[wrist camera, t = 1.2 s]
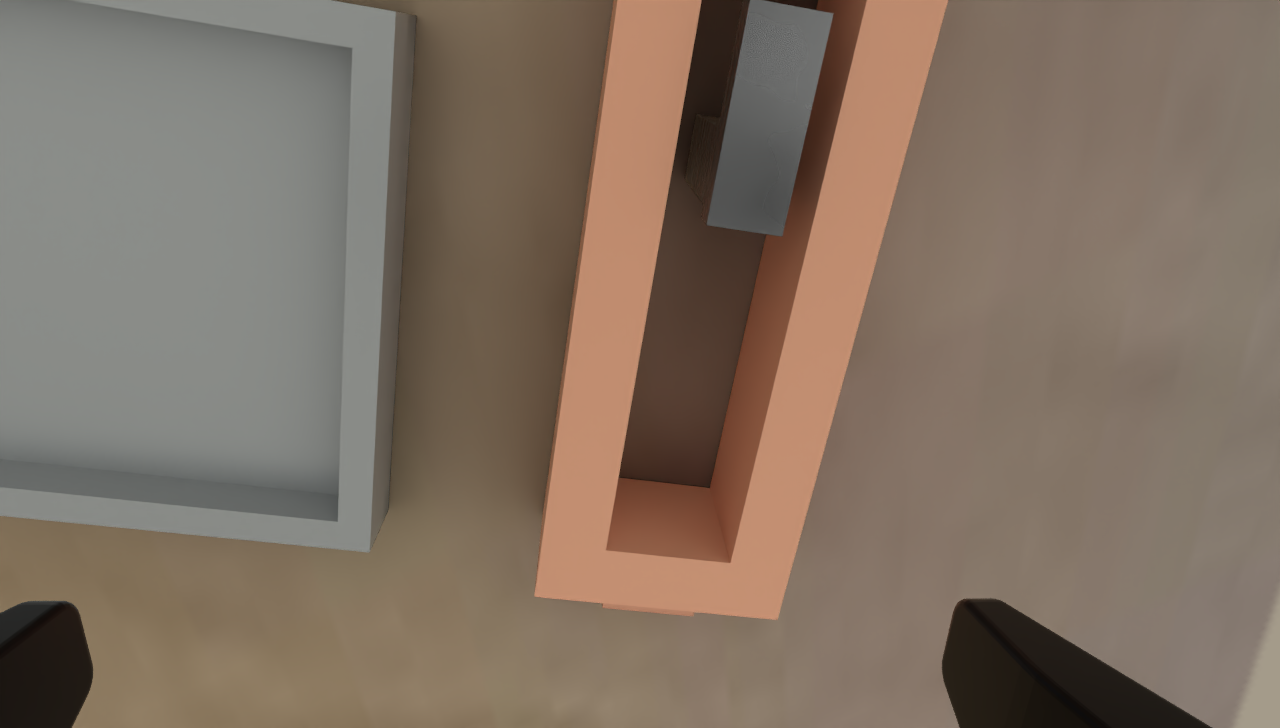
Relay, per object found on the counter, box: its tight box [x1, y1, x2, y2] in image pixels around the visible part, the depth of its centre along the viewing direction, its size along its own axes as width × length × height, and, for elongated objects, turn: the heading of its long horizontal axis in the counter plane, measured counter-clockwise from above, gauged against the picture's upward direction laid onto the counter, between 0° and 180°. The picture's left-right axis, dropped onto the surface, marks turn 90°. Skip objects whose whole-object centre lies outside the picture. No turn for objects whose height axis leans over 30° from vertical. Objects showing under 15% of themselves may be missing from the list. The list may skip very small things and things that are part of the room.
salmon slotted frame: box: [534, 0, 948, 620], centre depth 18 cm, size 6×18×4 cm, turn 171°
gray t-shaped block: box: [685, 0, 834, 237], centre depth 16 cm, size 2×4×4 cm, turn 171°
